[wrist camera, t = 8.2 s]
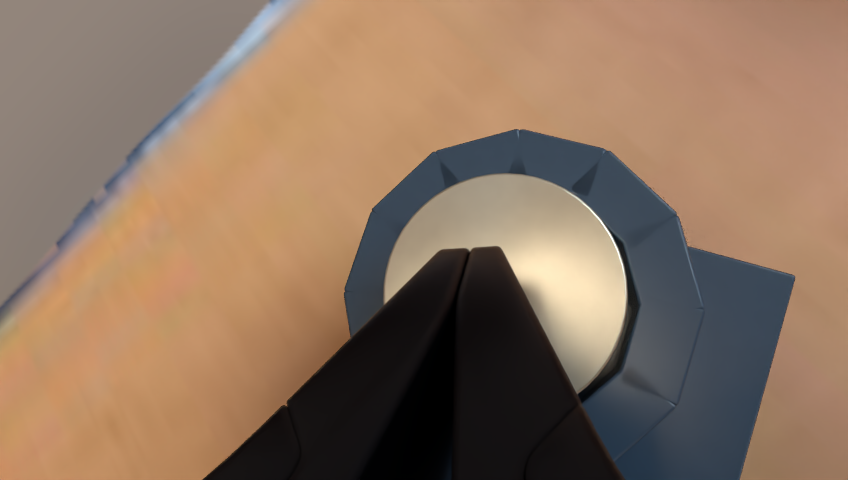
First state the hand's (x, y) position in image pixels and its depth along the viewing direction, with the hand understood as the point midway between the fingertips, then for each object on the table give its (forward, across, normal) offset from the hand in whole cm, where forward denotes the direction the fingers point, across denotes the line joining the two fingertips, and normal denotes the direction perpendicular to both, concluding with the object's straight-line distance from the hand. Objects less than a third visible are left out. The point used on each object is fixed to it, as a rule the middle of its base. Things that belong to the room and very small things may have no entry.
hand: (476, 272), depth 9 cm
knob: (+4, 0, +4) cm, 5 cm away
